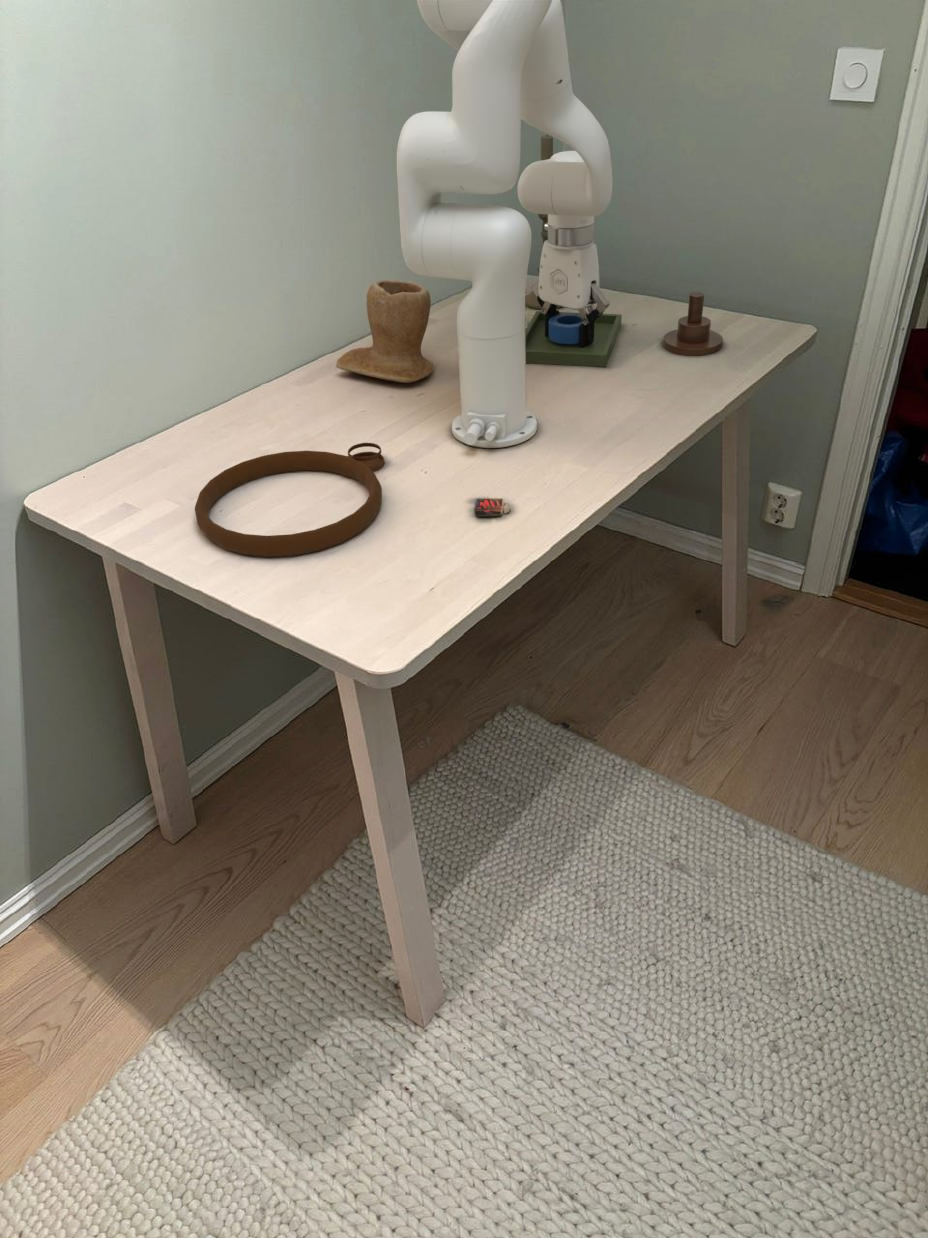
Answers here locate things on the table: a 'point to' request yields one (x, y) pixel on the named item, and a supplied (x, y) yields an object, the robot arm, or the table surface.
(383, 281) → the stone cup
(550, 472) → the table surface
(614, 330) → the tray
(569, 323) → the ring
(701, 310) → the stand
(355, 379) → the table surface
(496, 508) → the matchbox
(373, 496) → the decorative ring
